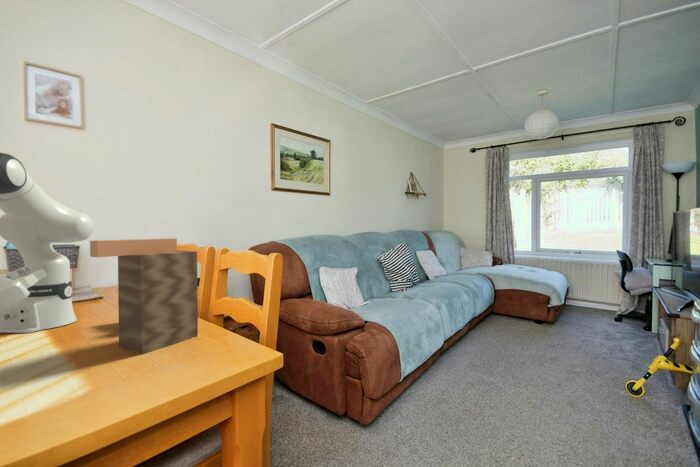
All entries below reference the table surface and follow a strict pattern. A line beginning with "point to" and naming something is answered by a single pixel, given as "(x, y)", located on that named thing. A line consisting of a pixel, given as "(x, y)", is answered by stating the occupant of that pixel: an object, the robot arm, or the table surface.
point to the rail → (131, 247)
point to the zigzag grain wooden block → (157, 300)
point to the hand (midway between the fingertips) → (36, 270)
